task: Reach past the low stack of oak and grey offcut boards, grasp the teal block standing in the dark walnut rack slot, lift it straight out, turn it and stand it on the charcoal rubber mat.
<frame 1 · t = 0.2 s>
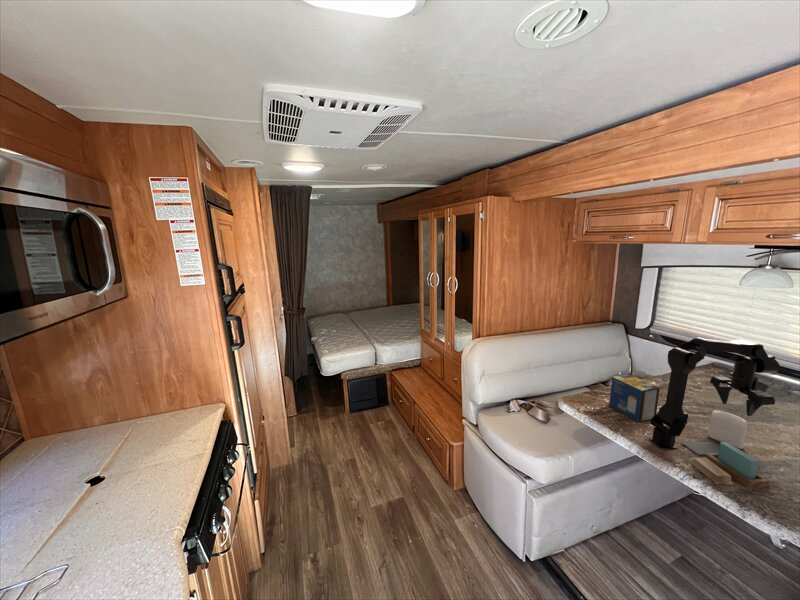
hand: (736, 409, 122), 14 cm above the table, tool pointing down, fingers open, 9 cm apart
photo printer: (724, 442, 126), on the table
protein box: (631, 412, 149), on the table
teal block: (736, 461, 109), in the walnut rack
walnut rack: (734, 471, 109), on the table
charcoal mat: (706, 449, 121), on the table
offcut stack: (709, 473, 109), on the table
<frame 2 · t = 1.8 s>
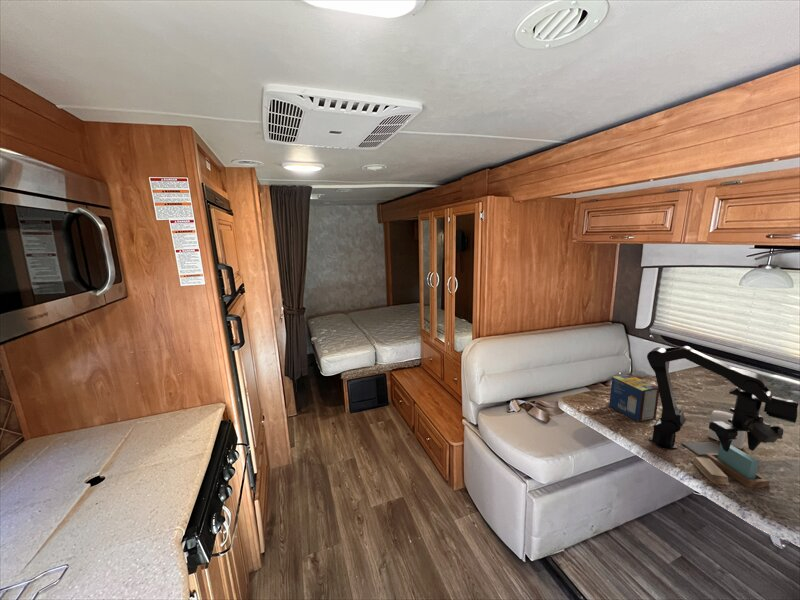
hand: (738, 450, 108), 8 cm above the table, tool pointing down, fingers open, 9 cm apart
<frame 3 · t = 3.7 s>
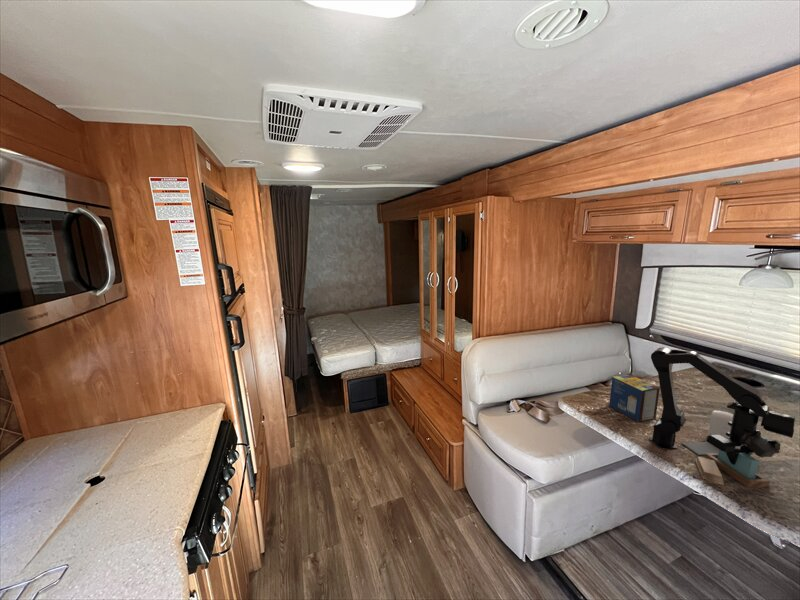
hand: (736, 463, 109), 3 cm above the table, tool pointing down, fingers closed on teal block, 2 cm apart
teal block: (736, 461, 109), in the walnut rack, touching gripper
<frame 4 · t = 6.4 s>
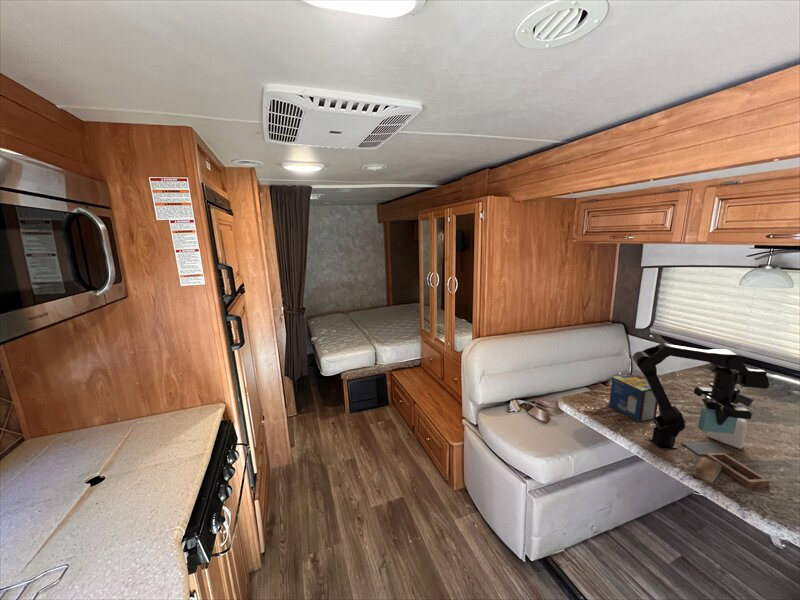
hand: (716, 422, 116), 13 cm above the table, tool pointing down, fingers closed on teal block, 2 cm apart
teal block: (717, 420, 116), point 14 cm above the table, touching gripper
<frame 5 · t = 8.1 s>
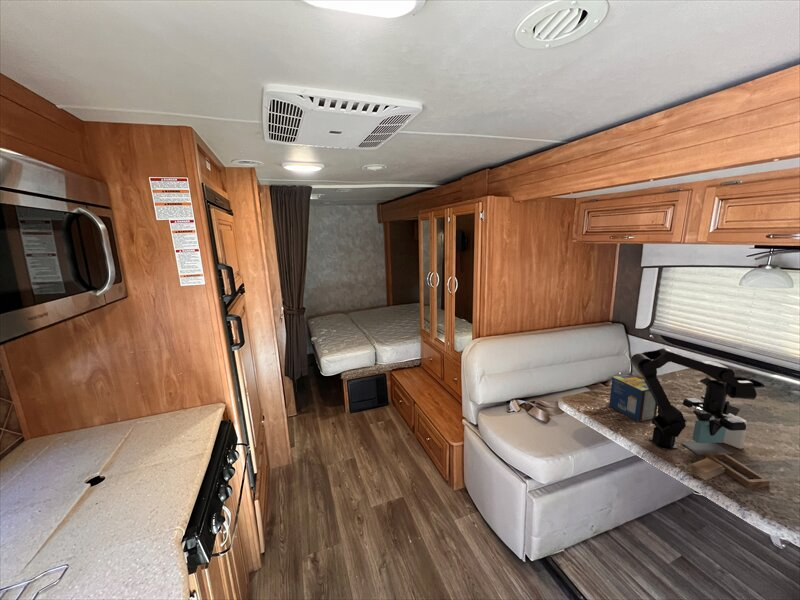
hand: (708, 433, 120), 7 cm above the table, tool pointing down, fingers closed on teal block, 2 cm apart
teal block: (709, 431, 120), point 8 cm above the table, touching gripper
when the fingers open (4 cm above the table, at t = 9.3 s): teal block stays where it is, resting on charcoal mat.
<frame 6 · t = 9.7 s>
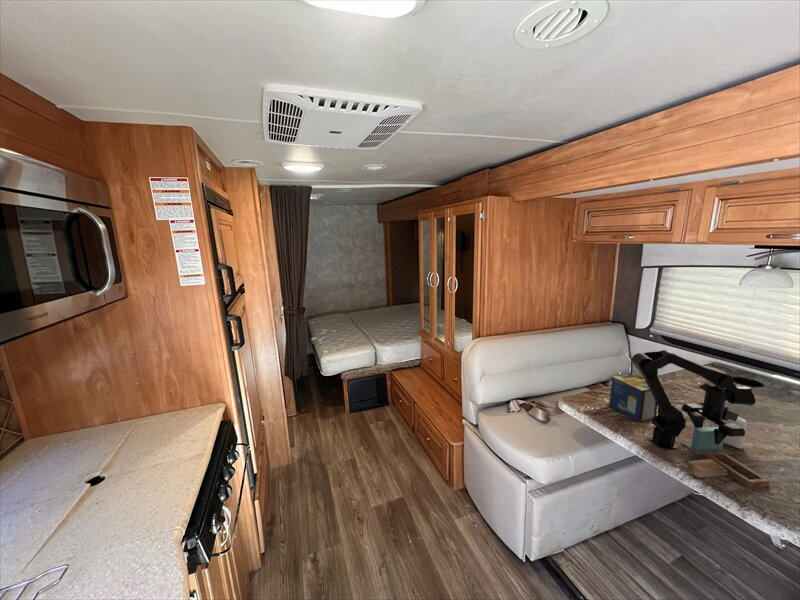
hand: (707, 438, 120), 5 cm above the table, tool pointing down, fingers open, 7 cm apart
teal block: (708, 438, 120), on the charcoal mat
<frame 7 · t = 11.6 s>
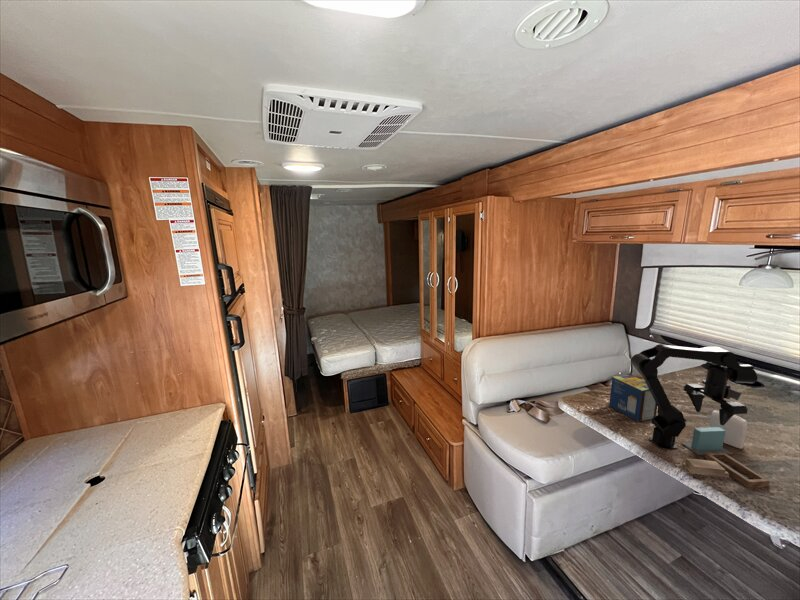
hand: (709, 418, 119), 13 cm above the table, tool pointing down, fingers open, 9 cm apart
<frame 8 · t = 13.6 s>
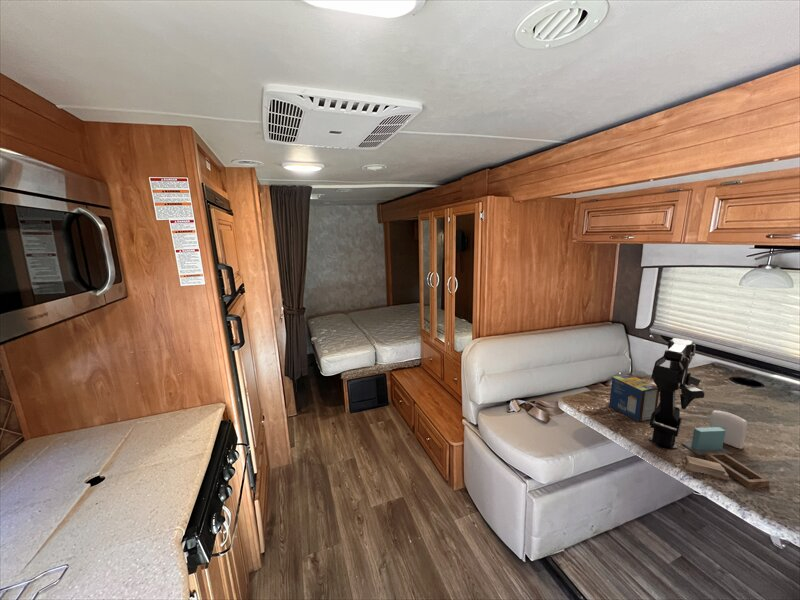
hand: (673, 403, 131), 13 cm above the table, tool pointing down, fingers open, 9 cm apart
at the end: teal block inside the target area on the charcoal mat (0.2 cm from its centre), point 4.5 cm above the charcoal mat's base; teal block tilted 0°; the gripper is holding nothing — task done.
